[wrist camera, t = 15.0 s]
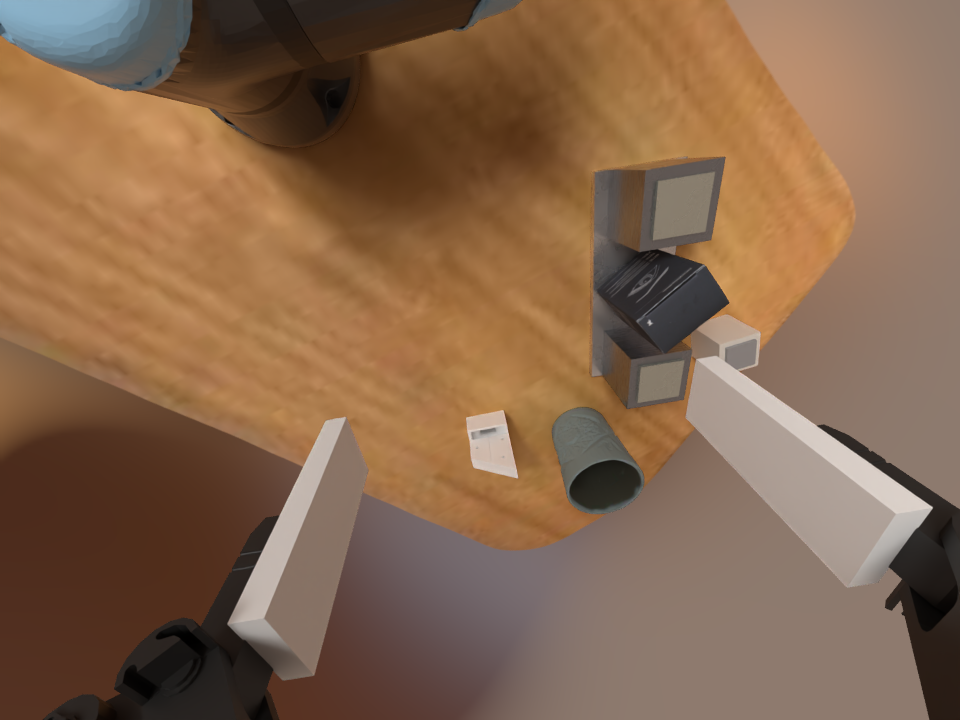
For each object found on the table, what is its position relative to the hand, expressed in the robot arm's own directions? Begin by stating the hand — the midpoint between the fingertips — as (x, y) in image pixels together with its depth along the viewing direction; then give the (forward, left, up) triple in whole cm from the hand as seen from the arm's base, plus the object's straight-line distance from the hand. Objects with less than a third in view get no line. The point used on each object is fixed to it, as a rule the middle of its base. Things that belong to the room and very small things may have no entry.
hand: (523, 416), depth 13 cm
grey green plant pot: (+30, +12, -32) cm, 45 cm away
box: (+7, +19, -31) cm, 37 cm away
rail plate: (+7, +19, -32) cm, 38 cm away
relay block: (+17, +31, -32) cm, 48 cm away
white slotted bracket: (+26, -2, -32) cm, 41 cm away
